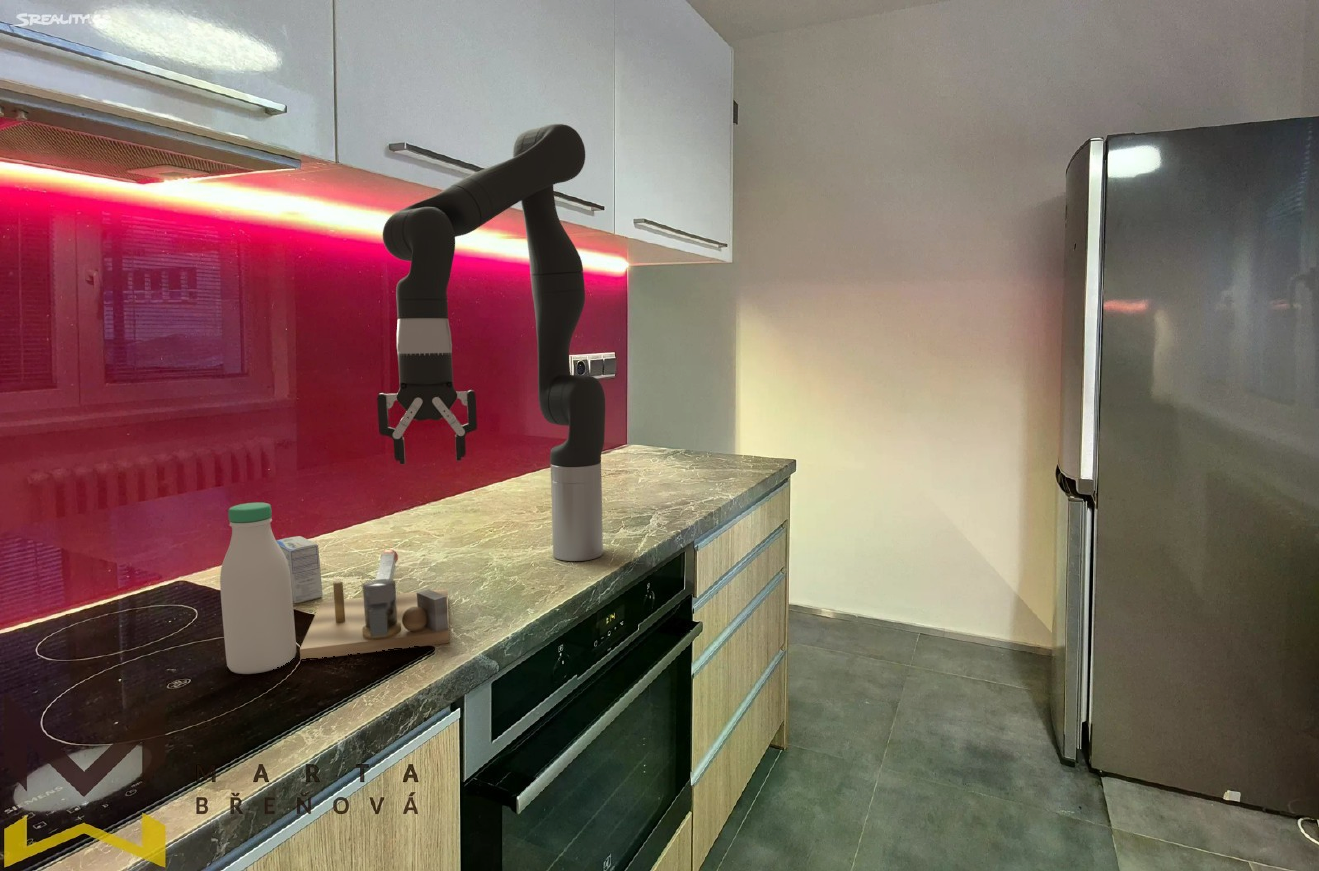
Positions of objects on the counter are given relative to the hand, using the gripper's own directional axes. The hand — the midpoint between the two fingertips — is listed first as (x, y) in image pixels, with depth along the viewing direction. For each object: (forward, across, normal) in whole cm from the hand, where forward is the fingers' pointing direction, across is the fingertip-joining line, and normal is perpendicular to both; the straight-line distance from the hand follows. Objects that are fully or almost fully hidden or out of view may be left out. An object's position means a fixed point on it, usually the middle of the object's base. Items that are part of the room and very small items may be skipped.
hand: (430, 461), depth 111 cm
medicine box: (+22, +21, -11) cm, 33 cm away
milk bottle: (+22, +21, +15) cm, 34 cm away
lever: (+19, +7, +5) cm, 21 cm away
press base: (+22, +8, +7) cm, 24 cm away
